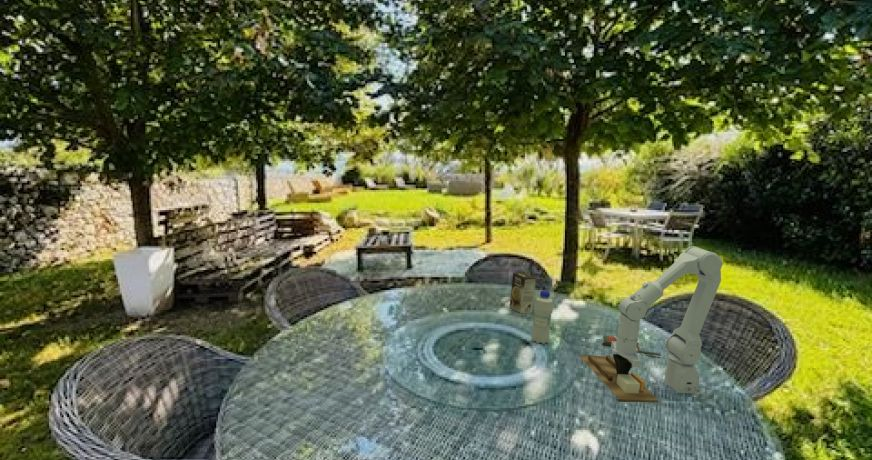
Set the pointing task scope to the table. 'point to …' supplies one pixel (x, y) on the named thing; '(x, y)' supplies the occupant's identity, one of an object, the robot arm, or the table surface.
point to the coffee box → (522, 292)
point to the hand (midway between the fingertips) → (621, 378)
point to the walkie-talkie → (609, 340)
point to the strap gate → (638, 379)
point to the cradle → (614, 379)
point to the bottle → (542, 318)
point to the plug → (628, 383)
